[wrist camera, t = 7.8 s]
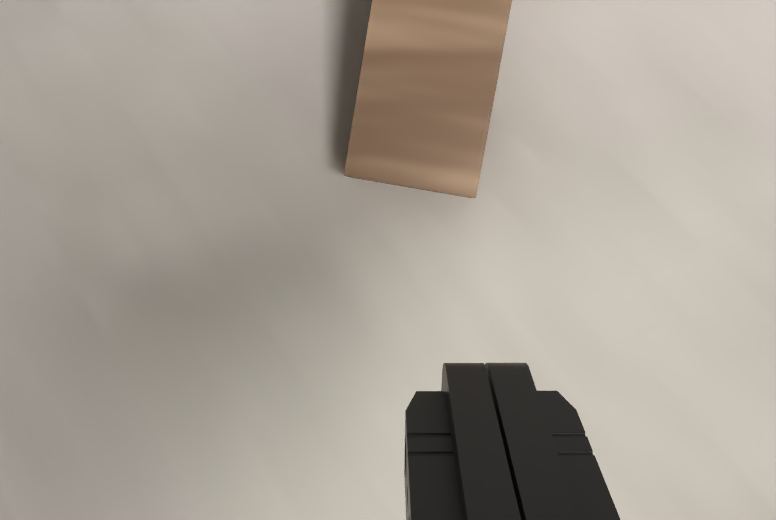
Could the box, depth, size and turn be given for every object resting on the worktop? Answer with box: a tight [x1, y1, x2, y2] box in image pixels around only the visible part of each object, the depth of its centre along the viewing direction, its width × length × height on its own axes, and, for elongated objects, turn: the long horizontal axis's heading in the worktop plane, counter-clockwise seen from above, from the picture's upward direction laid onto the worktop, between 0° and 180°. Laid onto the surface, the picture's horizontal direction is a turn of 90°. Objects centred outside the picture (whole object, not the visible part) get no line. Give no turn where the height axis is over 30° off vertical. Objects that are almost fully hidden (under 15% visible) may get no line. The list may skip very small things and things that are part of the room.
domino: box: [344, 0, 512, 198], centre depth 25 cm, size 2×5×10 cm
